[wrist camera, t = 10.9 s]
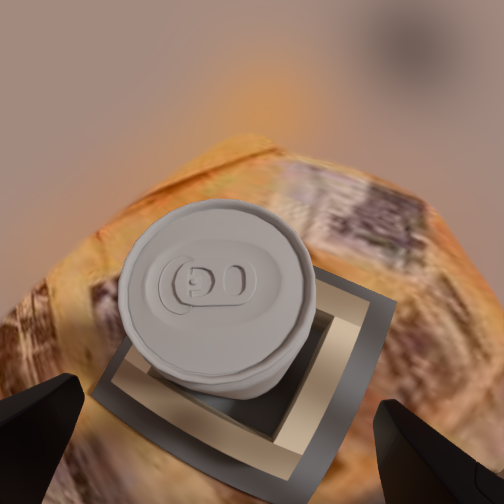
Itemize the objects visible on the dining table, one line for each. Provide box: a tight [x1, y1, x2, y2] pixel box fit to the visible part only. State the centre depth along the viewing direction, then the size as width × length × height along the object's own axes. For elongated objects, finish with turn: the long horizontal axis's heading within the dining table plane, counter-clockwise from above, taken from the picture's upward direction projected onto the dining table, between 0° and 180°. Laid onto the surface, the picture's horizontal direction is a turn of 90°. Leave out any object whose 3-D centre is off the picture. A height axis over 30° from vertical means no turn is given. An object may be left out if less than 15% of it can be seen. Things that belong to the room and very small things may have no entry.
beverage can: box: [118, 199, 316, 400], centre depth 12 cm, size 5×5×12 cm
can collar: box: [91, 266, 397, 504], centre depth 16 cm, size 15×15×4 cm
